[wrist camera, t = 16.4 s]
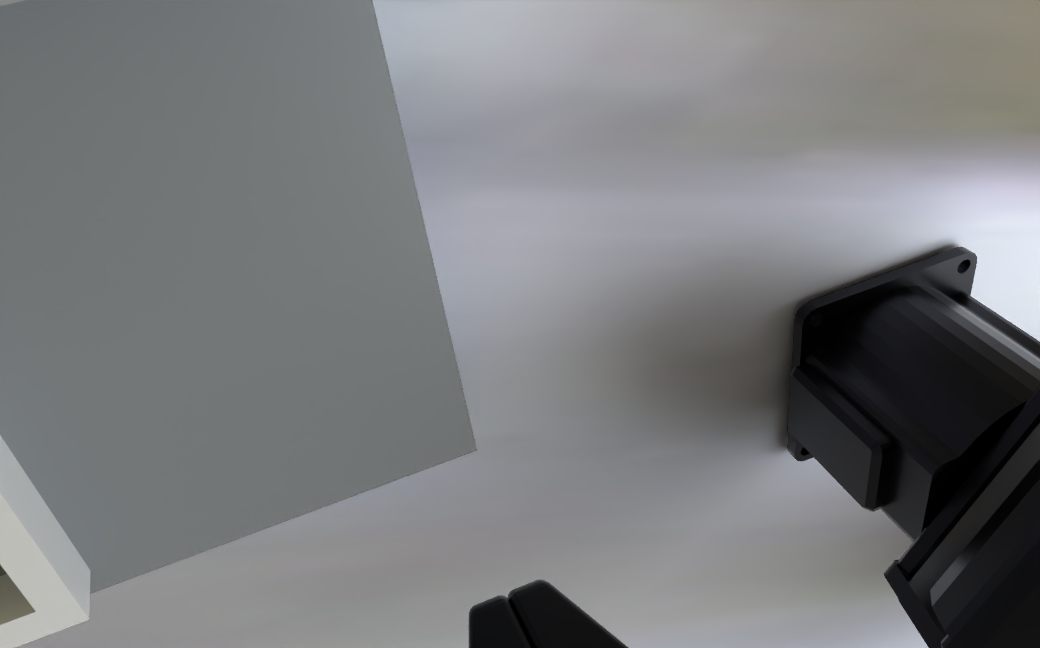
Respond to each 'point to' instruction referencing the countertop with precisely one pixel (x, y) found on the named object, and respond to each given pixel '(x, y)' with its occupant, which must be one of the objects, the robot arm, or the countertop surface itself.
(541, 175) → the countertop surface
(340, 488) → the grey divided tray
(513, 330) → the countertop surface
